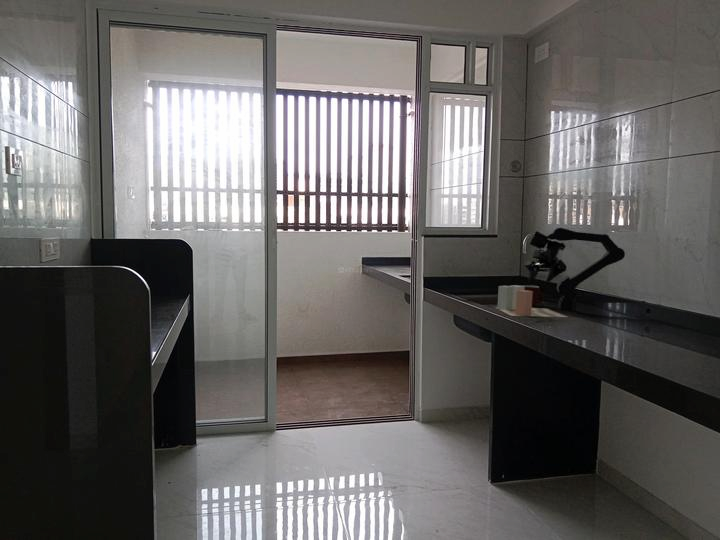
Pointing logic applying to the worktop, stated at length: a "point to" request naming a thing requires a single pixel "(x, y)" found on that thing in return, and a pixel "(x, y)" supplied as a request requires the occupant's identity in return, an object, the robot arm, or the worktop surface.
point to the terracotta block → (524, 302)
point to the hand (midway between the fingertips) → (538, 282)
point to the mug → (534, 294)
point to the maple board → (536, 312)
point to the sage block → (505, 297)
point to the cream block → (516, 294)
